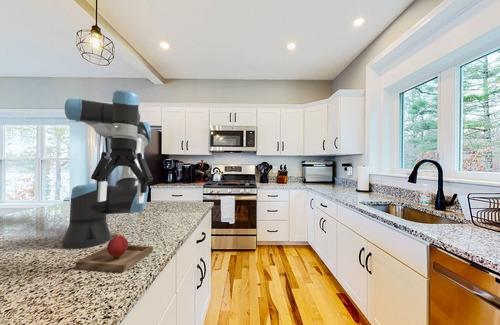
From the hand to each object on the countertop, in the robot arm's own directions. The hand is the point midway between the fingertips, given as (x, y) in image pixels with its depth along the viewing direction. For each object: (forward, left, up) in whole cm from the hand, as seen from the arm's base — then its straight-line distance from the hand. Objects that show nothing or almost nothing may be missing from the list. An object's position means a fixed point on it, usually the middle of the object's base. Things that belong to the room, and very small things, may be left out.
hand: (121, 202), depth 69 cm
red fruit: (0, 0, -18) cm, 18 cm away
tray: (0, 0, -19) cm, 19 cm away
